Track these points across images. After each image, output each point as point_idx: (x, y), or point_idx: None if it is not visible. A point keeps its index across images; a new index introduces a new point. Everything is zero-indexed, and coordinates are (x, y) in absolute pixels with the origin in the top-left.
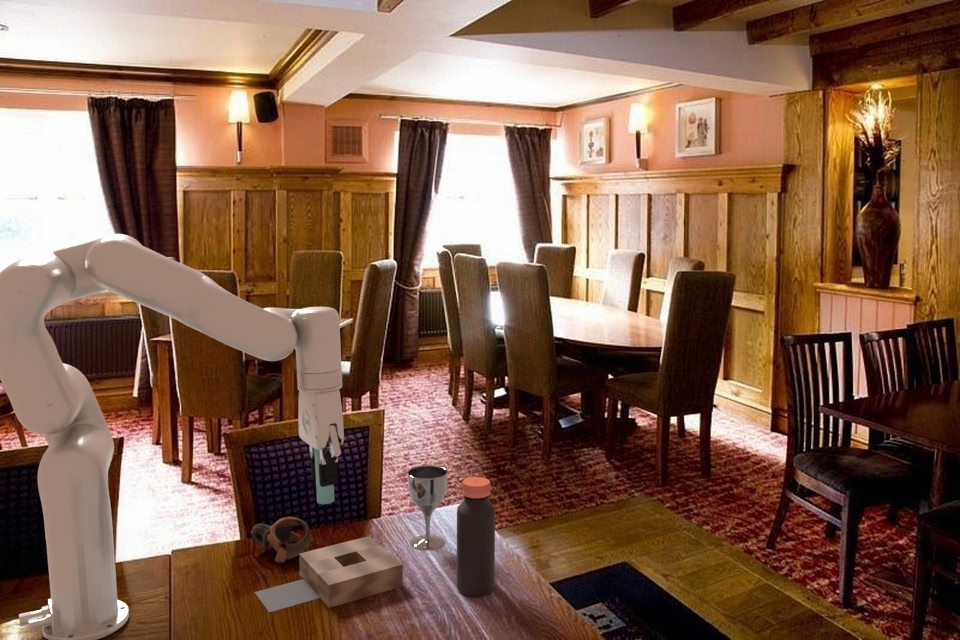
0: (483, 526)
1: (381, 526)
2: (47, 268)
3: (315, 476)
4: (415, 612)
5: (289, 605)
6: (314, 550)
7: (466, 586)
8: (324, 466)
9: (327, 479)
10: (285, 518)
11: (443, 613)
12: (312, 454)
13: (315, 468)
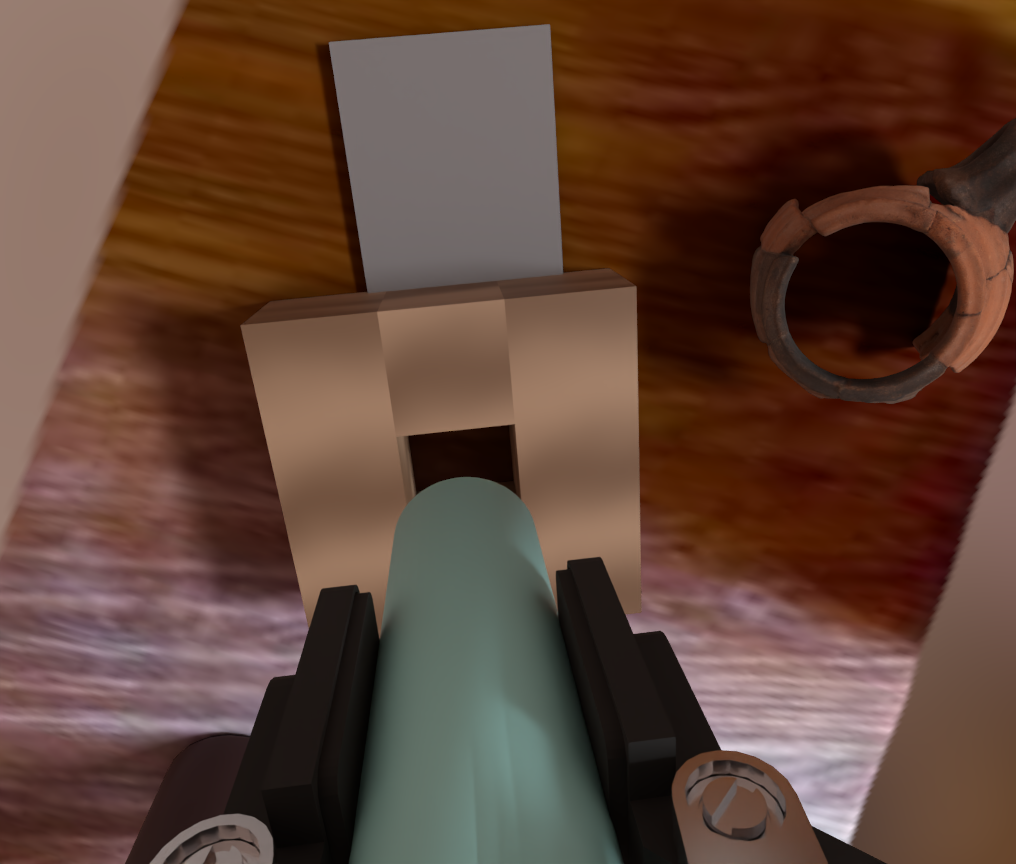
0: None
1: (841, 667)
2: None
3: (563, 605)
4: (139, 574)
5: (354, 149)
6: (630, 363)
7: (176, 770)
8: (268, 820)
9: (267, 701)
10: (971, 307)
11: (101, 648)
12: (679, 817)
13: (496, 680)
